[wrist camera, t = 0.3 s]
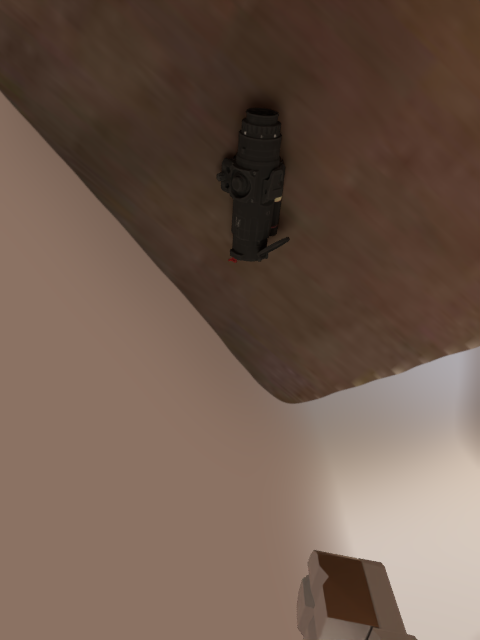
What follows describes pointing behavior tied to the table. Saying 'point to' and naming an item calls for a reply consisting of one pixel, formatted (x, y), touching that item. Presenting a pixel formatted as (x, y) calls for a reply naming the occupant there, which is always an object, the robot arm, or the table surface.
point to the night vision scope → (255, 185)
